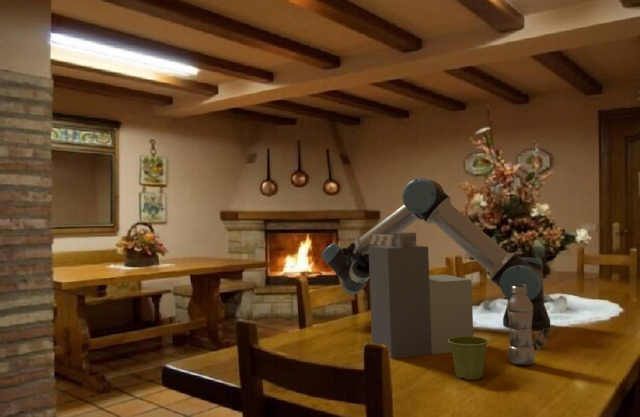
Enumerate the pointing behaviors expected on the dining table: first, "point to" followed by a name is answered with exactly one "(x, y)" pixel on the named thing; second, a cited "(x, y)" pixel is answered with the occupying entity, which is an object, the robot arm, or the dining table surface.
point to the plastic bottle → (520, 327)
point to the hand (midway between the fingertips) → (379, 239)
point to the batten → (394, 240)
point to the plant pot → (468, 356)
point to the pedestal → (416, 303)
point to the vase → (541, 338)
